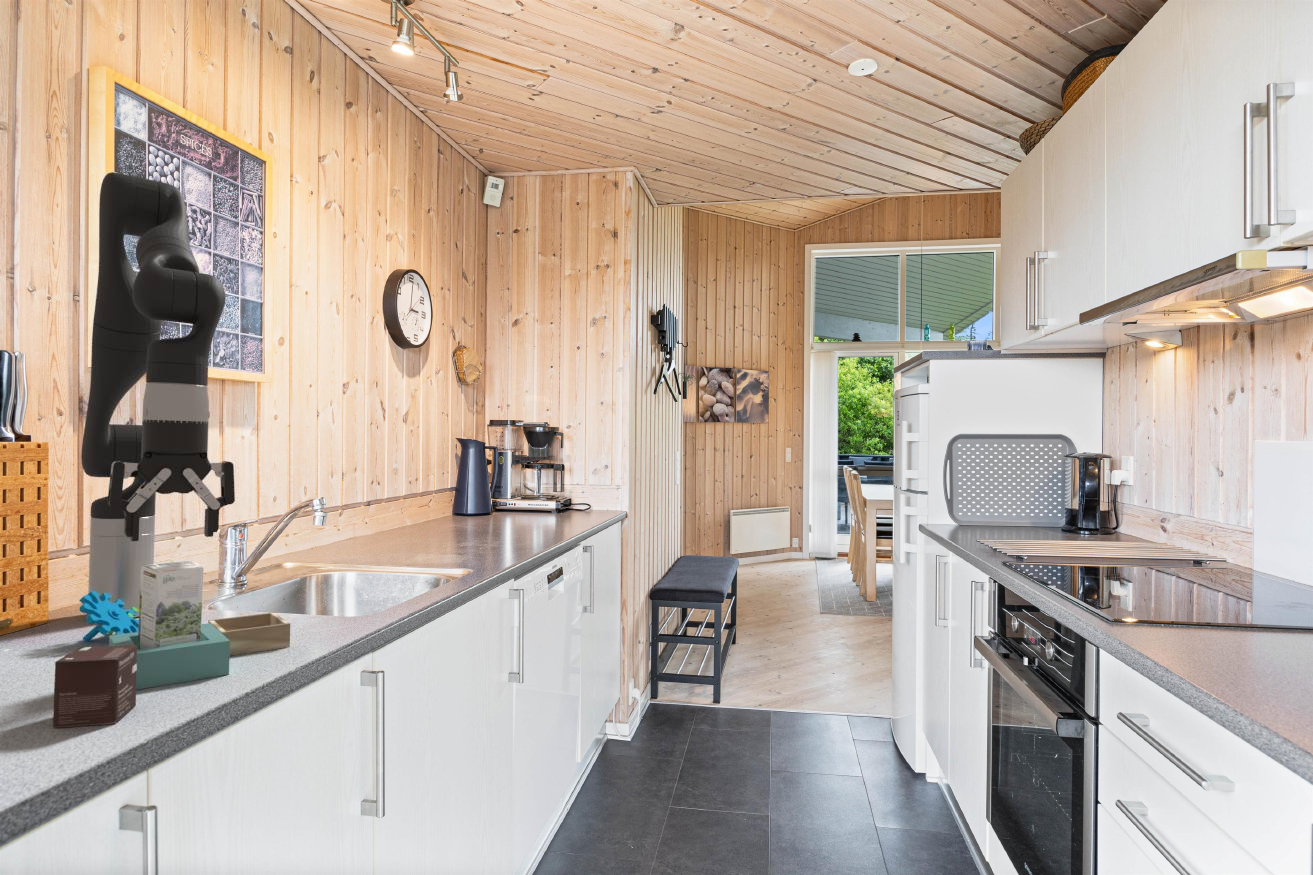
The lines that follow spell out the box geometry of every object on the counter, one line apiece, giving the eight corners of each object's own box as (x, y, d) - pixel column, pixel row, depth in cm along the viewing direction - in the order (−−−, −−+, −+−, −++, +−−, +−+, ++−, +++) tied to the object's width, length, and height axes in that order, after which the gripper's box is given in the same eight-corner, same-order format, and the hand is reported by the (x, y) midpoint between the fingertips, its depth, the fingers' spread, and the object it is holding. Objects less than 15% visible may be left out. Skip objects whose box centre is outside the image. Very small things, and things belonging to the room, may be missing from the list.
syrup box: (183, 662, 105) (186, 558, 105) (201, 671, 102) (204, 564, 102) (136, 671, 101) (139, 563, 101) (153, 681, 97) (156, 568, 97)
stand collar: (207, 642, 115) (208, 620, 115) (272, 633, 121) (273, 612, 121) (221, 656, 108) (222, 632, 108) (289, 646, 114) (290, 623, 114)
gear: (116, 639, 110) (73, 589, 111) (83, 668, 109) (39, 618, 110) (162, 631, 121) (122, 585, 122) (132, 657, 120) (92, 611, 121)
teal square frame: (108, 668, 102) (109, 635, 102) (209, 653, 110) (210, 623, 110) (119, 692, 93) (120, 655, 93) (228, 674, 101) (229, 640, 101)
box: (115, 725, 83) (118, 658, 83) (50, 729, 81) (53, 661, 81) (137, 706, 88) (139, 643, 88) (76, 710, 87) (78, 646, 87)
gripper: (229, 420, 109) (225, 532, 109) (107, 416, 99) (103, 538, 99) (241, 420, 103) (238, 538, 103) (114, 416, 94) (110, 545, 94)
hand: (172, 538), depth 101 cm, fingers open, 8 cm apart
